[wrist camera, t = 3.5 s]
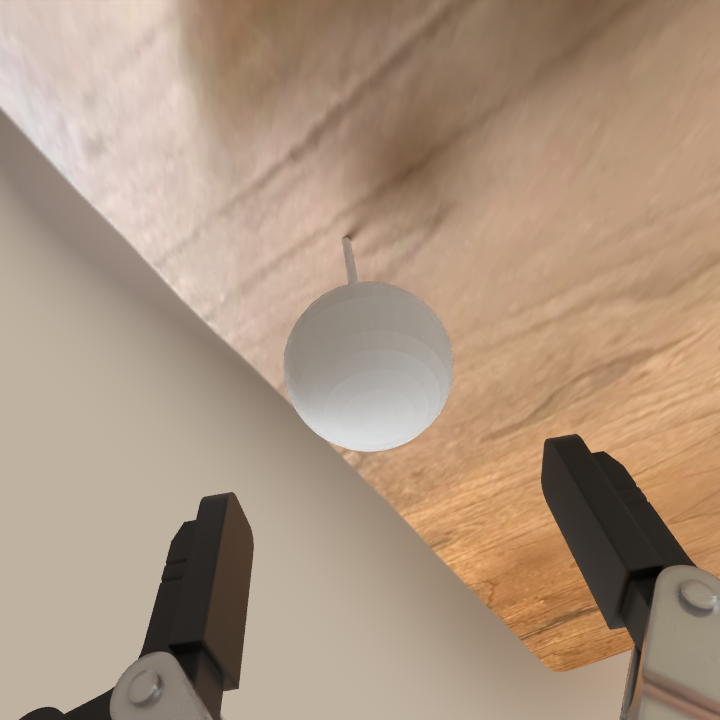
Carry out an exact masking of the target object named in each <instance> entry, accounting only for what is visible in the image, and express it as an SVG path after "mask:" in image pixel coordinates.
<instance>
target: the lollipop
mask: <svg viewBox="0 0 720 720" xmlns="http://www.w3.org/2000/svg"><path fill="white" fill-rule="evenodd" d="M342 245H343V251H344V257H345V263H346V270H347V276H348V282H349V284H348V285H345V286H341V287H338V288H335V289H333V290H331V291H330V292H328V293H326V294H324V295H322V296H321V297H320V298H318V299H317V300H316V301H314V302H313V303H312V304H311V305H310V306H309V307H308V308H307V309H306V311H305V312H304V313H303V314H302V315H301V317H300V318H299V319H298V321H297V322H296V324H295V326H294V328H293V329H292V331H291V333H290V335H289V338H288V341H287V344H286V348H285V352H284V376H285V382H286V387H287V392H288V394H289V396H290V398H291V400H292V403H293V405H294V407H295V409H296V411H297V413H298V414H299V415H300V417H301V418H302V419H303V421H305V423H306V424H307V425H308V426H309V427H310V428H311V429H312V430H313V431H314V432H316V433H317V434H318V435H319V436H320V437H322V438H324V439H326V440H327V441H329V442H331V443H333V444H336V445H338V446H341V447H344V448H347V449H351V450H357V451H371V452H373V451H381V450H387V449H391V448H395V447H398V446H400V445H402V444H405V443H407V442H409V441H410V440H412V439H414V438H415V437H417V436H418V435H419V434H420V433H422V432H423V431H424V430H425V429H426V428H427V427H429V426H430V425H431V424H432V422H433V421H434V420H435V419H436V418H437V416H438V415H439V414H440V412H441V410H442V408H443V406H444V404H445V402H446V400H447V398H448V396H449V392H450V389H451V385H452V379H453V362H454V360H453V355H452V349H451V345H450V341H449V337H448V334H447V332H446V330H445V328H444V326H443V323H442V322H441V321H440V319H439V318H438V317H437V315H436V314H435V313H434V311H433V310H432V309H431V308H430V307H429V306H428V305H427V304H425V303H424V302H423V301H422V300H420V299H419V298H418V297H416V296H415V295H413V294H412V293H410V292H408V291H406V290H404V289H402V288H400V287H397V286H394V285H390V284H386V283H380V282H358V277H357V272H356V267H355V262H354V257H353V252H352V247H351V242H350V239H349V238H347V237H345V238H343V240H342Z"/></svg>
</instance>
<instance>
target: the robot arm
mask: <svg viewBox="0 0 720 720" xmlns="http://www.w3.org/2000/svg"><path fill="white" fill-rule="evenodd" d="M541 484H542V490H543V494H544V497H545V499H546V502H547V504H548V506H549V508H550V510H551V512H552V514H553V516H554V518H555V520H556V522H557V524H558V526H559V528H560V530H561V532H562V534H563V536H564V538H565V540H566V542H567V544H568V546H569V548H570V550H571V552H572V554H573V557H574V559H575V561H576V563H577V565H578V567H579V569H580V571H581V573H582V575H583V577H584V579H585V581H586V583H587V585H588V587H589V589H590V591H591V593H592V595H593V597H594V599H595V601H596V603H597V605H598V607H599V609H600V611H601V613H602V615H603V617H604V619H605V621H606V623H607V625H608V627H609V629H610V630H611V629H617V628H623V627H626V628H627V630H628V632H629V634H630V636H631V638H632V640H633V641H634V643H633V647H632V652H631V658H630V664H629V669H628V675H627V680H626V686H625V692H624V697H623V703H622V708H621V714H620V720H720V579H719V578H717V577H716V576H714V575H713V574H711V573H709V572H707V571H705V570H702V569H700V568H698V567H697V566H696V565H695V564H694V563H693V562H692V561H691V560H690V558H689V557H688V556H687V554H686V553H685V552H684V550H683V549H682V547H681V546H680V545H679V543H678V542H677V540H676V539H675V538H674V536H673V535H672V533H671V532H670V530H669V529H668V528H667V526H666V525H665V523H664V522H663V521H662V519H661V518H660V516H659V515H658V514H657V512H656V511H655V509H654V508H653V507H652V505H651V504H650V502H647V498H646V497H645V495H644V494H643V493H642V491H641V490H640V488H639V487H637V486H636V483H635V481H634V480H633V479H632V477H631V476H630V474H629V473H628V472H627V470H626V469H625V467H624V466H623V465H622V464H620V463H619V462H618V461H616V460H615V459H614V458H612V457H611V456H609V455H608V454H607V453H605V452H604V451H602V452H596V453H591V452H590V450H589V449H588V447H587V446H586V444H585V443H584V441H583V440H582V438H581V437H580V436H579V435H577V434H572V435H567V436H561V437H555V438H549V439H546V440H545V443H544V452H543V463H542V474H541ZM253 545H254V544H253V535H252V530H251V527H250V525H249V523H248V521H247V518H246V517H245V514H244V512H243V510H242V508H241V506H240V504H239V501H238V499H237V497H236V495H235V494H234V493H233V492H230V493H225V494H218V495H212V496H207V497H203V498H202V500H201V502H200V506H199V510H198V514H197V518H196V520H193V521H188V522H184V523H183V525H182V526H181V528H180V529H179V531H178V533H177V534H176V535H175V537H174V539H173V540H172V541H171V545H170V549H169V552H168V556H167V560H166V566H165V568H164V571H163V575H162V583H160V586H159V590H158V593H157V597H156V601H155V605H154V608H153V612H152V615H151V619H150V623H149V627H148V630H147V634H146V638H145V642H144V645H143V649H142V651H141V654H140V656H139V658H138V660H137V661H135V662H134V663H133V664H132V665H130V666H129V667H128V668H127V670H126V671H125V672H124V673H123V674H122V676H121V677H120V679H119V680H118V682H117V684H116V686H115V687H113V688H112V689H111V690H109V691H107V692H106V693H104V694H102V695H100V696H98V697H96V698H95V699H93V700H91V701H89V702H87V703H85V704H83V705H81V706H79V707H77V708H75V709H73V710H72V711H69V712H68V713H66V714H63V713H62V712H61V711H59V710H58V709H56V708H53V707H44V708H39V709H36V710H34V711H32V712H30V713H28V714H26V715H25V716H23V717H22V718H21V719H19V720H224V718H223V716H222V715H221V713H220V710H221V703H222V695H223V691H229V690H234V689H239V680H240V671H241V661H242V653H243V643H244V634H245V625H246V615H247V606H248V597H249V588H250V579H251V569H252V560H253V550H254V548H253V547H254V546H253Z"/></svg>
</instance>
